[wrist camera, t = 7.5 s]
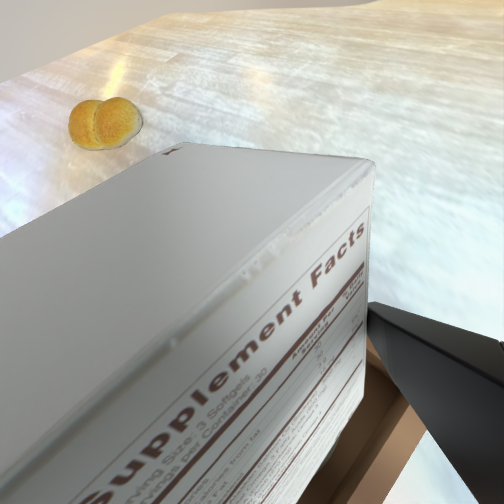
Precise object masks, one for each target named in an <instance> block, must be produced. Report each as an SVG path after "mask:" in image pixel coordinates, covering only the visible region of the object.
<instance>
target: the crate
mask: <svg viewBox="0 0 504 504" xmlns="http://www.w3.org/2000/svg"><path fill="white" fill-rule="evenodd" d="M426 430H427V428H426V427H425V425H424V424H423V423H422V421H421V420H420V418H419V417H418V415H417V414H416V412H415V411H414V410H413V408H412V407H411V405H410V404H409V402H408V401H407V400H406V398H405V397H404V395H403V394H402V392H401V391H400V390H399V388H398V387H397V385H396V384H395V382H394V381H393V379H392V378H391V376H390V375H389V373H388V371H387V370H386V368H385V366H384V364H383V362H382V361H381V359H380V357H379V355H378V353H377V351H376V350H375V348H374V346H373V344H372V342H371V341H370V339H369V337H368V335H366V362H365V378H364V396H363V398H362V400H361V402H360V403H359V405H358V406H357V408H356V410H355V411H354V413H353V414H352V416H351V418H350V419H349V421H348V422H347V424H346V425H345V427H344V429H343V430H342V432H341V433H340V435H339V436H338V438H337V440H336V441H335V443H334V444H333V446H332V447H331V449H330V451H329V452H328V454H327V455H326V457H325V458H324V460H323V462H322V463H321V465H320V466H319V468H318V469H317V471H316V473H315V474H314V476H313V477H312V479H311V480H310V482H309V484H308V485H307V487H306V488H305V490H304V491H303V493H302V495H301V496H300V498H299V499H298V501H297V503H296V504H382V503H383V501H384V500H385V498H386V496H387V495H388V493H389V491H390V490H391V488H392V486H393V485H394V483H395V481H396V480H397V478H398V476H399V475H400V473H401V471H402V470H403V468H404V466H405V465H406V463H407V461H408V460H409V458H410V456H411V455H412V453H413V451H414V450H415V448H416V446H417V445H418V443H419V441H420V440H421V438H422V436H423V435H424V433H425V431H426Z"/></svg>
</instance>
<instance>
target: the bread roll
mask: <svg viewBox="0 0 504 504" xmlns="http://www.w3.org/2000/svg"><path fill="white" fill-rule="evenodd" d="M141 127H142V118H141V115H140V114H139V111H138V109H137V107H136V106H135V105H134V104H133V103H132V102H131V101H129V100H127V99H124V98H121V97H115V98H110V99H108V100H106V101H100V100H86V101H84V102H81V103H79V104H78V105H77V106H76V107H75V108H74V109H73V110H72V112H71V114H70V117H69V126H68V128H69V129H68V131H69V135H70V137H71V139H72V140H73V141H74V143H75V144H77V145H78V146H80V147H82V148H84V149H87V150H102V149H116V148H119V147H121V146H122V145H124V144H126V143H127V142H128V141H130V140H131V139H132V138H133V137H134V136H135V135H136V134H137V133H138V132H139V131H140V129H141Z"/></svg>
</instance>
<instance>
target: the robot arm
mask: <svg viewBox="0 0 504 504" xmlns="http://www.w3.org/2000/svg"><path fill="white" fill-rule="evenodd" d="M367 335H368V337H369V339H370V341H371V342H372V344H373V346H374V348H375V350H376V351H377V353H378V355H379V357H380V359H381V361H382V362H383V364H384V366H385V368H386V370H387V371H388V373H389V375H390V376H391V378H392V379H393V381H394V382H395V384H396V385H397V387H398V388H399V390H400V391H401V392H402V394H403V395H404V397H405V398H406V400H407V401H408V402H409V404H410V405H411V407H412V408H413V410H414V411H415V412H416V414H417V415H418V417H419V418H420V420H421V421H422V423H423V424H424V425H425V427H426V428H427V430H428V431H429V433H430V434H431V435H432V437H433V438H434V440H435V441H436V443H437V444H438V445H439V447H440V448H441V450H442V451H443V453H444V454H445V456H446V457H447V458H448V460H449V461H450V463H451V464H452V466H453V467H454V468H455V470H456V471H457V473H458V474H459V476H460V477H461V478H462V480H463V481H464V483H465V484H466V486H467V487H468V489H469V490H470V491H471V493H472V494H473V496H474V497H475V499H476V500H477V501H478V503H479V504H504V342H503V341H501V342H499V341H498V340H496V339H493V338H490V337H487V336H484V335H480V334H477V333H474V332H471V331H468V330H464V329H461V328H458V327H455V326H452V325H448V324H445V323H442V322H439V321H436V320H432V319H429V318H426V317H423V316H420V315H416V314H413V313H410V312H407V311H404V310H401V309H397V308H394V307H391V306H388V305H385V304H381V303H378V302H369V303H368V306H367Z"/></svg>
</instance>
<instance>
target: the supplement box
mask: <svg viewBox="0 0 504 504" xmlns="http://www.w3.org/2000/svg"><path fill="white" fill-rule="evenodd" d="M375 174H376V164H375V162H373V161H371V160H369V159H364V158H358V157H345V156H335V155H322V154H307V153H296V152H285V151H273V150H261V149H252V148H244V147H228V146H215V145H206V144H195V143H188V142H183V143H179V144H177V145H174V146H172V147H170V148H167V149H165V150H163V151H161V152H158V153H157V154H155V155H153V156H151V157H149V158H147V159H145V160H143V161H142V162H140V163H138V164H136V165H134V166H132V167H130V168H128V169H127V170H125V171H123V172H121V173H119V174H118V175H116V176H114V177H112V178H110V179H108V180H107V181H105V182H103V183H101V184H99V185H97V186H96V187H94V188H92V189H90V190H88V191H86V192H85V193H83V194H81V195H79V196H77V197H75V198H74V199H72V200H70V201H68V202H66V203H64V204H63V205H61V206H59V207H57V208H55V209H53V210H52V211H50V212H48V213H46V214H44V215H42V216H40V217H39V218H37V219H35V220H33V221H31V222H29V223H27V224H25V225H23V226H21V227H20V228H18V229H16V230H14V231H12V232H10V233H9V234H7V235H5V236H3V237H1V238H0V504H296V503H297V501H298V499H299V498H300V496H301V495H302V493H303V491H304V490H305V488H306V487H307V485H308V484H309V482H310V480H311V479H312V477H313V476H314V474H315V473H316V471H317V469H318V468H319V466H320V465H321V463H322V462H323V460H324V458H325V457H326V455H327V454H328V452H329V451H330V449H331V447H332V446H333V444H334V443H335V441H336V440H337V438H338V436H339V435H340V433H341V432H342V430H343V429H344V427H345V425H346V424H347V422H348V421H349V419H350V418H351V416H352V414H353V413H354V411H355V410H356V408H357V406H358V405H359V403H360V402H361V400H362V398H363V396H364V378H365V362H366V335H367V306H368V276H369V249H370V228H371V213H372V202H373V192H374V183H375Z"/></svg>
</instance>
